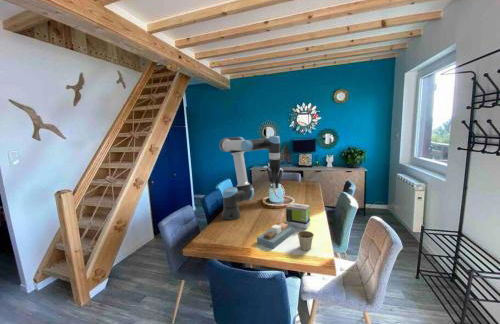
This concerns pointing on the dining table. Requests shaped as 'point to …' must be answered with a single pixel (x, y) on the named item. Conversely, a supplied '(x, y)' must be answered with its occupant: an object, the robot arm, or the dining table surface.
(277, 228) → the cream key
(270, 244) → the grey slotted tray
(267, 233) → the walnut key
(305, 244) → the flower pot
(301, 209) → the tea box
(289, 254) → the dining table surface
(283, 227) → the terracotta key
